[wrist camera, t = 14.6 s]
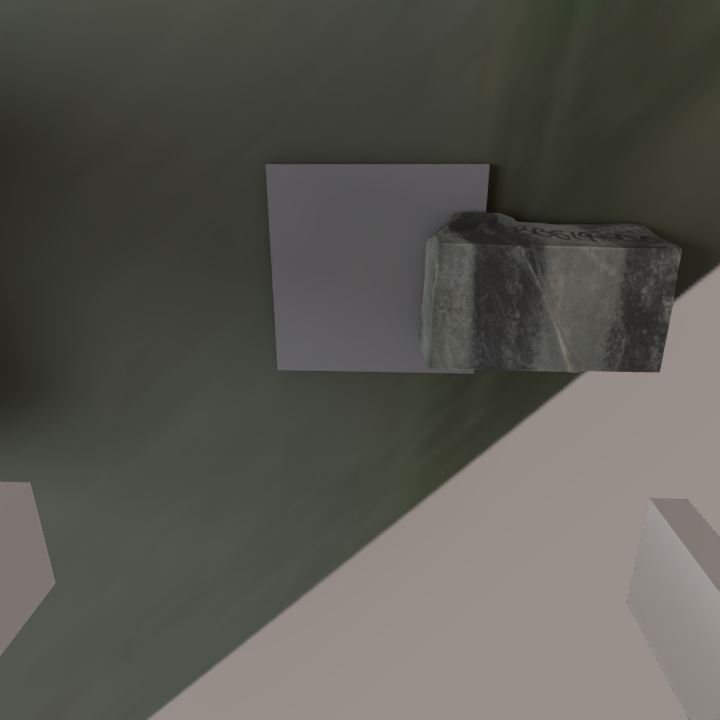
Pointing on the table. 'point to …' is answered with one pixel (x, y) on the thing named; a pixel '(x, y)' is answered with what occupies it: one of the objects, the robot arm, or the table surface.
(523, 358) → the stone block
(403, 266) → the slate pad
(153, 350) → the table surface
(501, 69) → the table surface
